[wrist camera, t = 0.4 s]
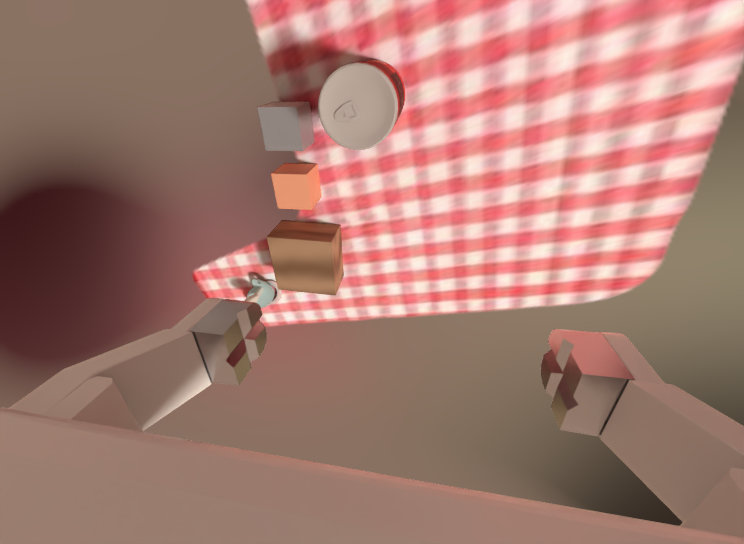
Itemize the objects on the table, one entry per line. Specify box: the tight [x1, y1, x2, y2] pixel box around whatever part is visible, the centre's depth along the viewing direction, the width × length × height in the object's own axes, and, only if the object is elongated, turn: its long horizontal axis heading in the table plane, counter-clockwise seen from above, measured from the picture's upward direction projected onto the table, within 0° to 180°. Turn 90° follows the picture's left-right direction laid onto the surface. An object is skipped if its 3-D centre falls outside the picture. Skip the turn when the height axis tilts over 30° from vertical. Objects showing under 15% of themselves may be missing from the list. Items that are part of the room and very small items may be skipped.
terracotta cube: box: [271, 163, 321, 210], centre depth 45 cm, size 5×5×5 cm
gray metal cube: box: [257, 102, 315, 151], centre depth 41 cm, size 5×5×5 cm
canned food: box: [318, 60, 405, 150], centre depth 35 cm, size 8×8×11 cm
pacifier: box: [245, 278, 282, 308], centre depth 59 cm, size 7×6×6 cm
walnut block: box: [267, 220, 344, 295], centre depth 52 cm, size 10×10×6 cm
